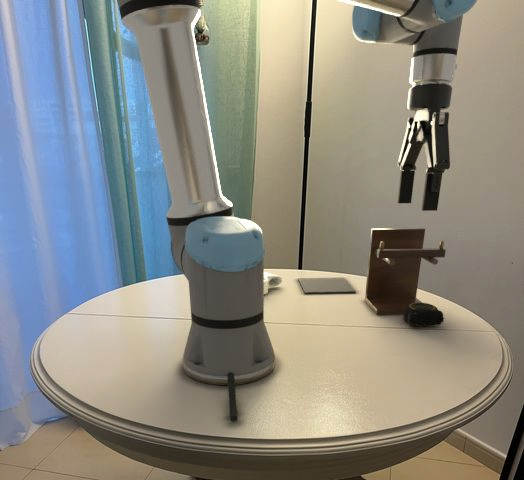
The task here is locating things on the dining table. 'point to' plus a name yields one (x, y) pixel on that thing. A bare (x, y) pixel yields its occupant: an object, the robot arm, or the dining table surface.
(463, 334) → the dining table surface
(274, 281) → the white brass knuckles
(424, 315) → the tape measure
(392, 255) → the hanger
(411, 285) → the rack
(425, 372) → the dining table surface
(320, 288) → the mat
